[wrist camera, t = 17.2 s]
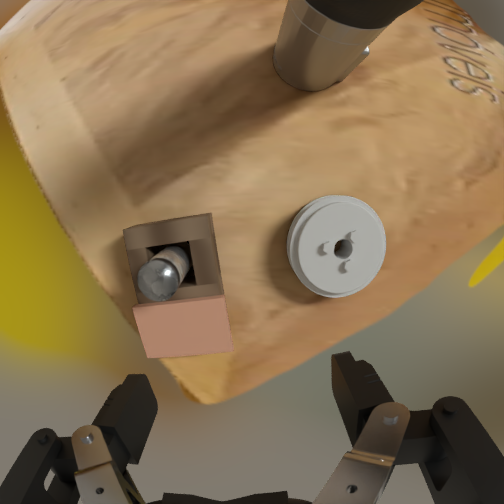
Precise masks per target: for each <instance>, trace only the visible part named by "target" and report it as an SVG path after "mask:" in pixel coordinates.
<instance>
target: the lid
mask: <svg viewBox="0 0 504 504" xmlns="http://www.w3.org/2000/svg"><path fill="white" fill-rule="evenodd" d="M339 240H341V247H340V249H339V250H338V251H336V252H334V247H335V244H336V243H337V242H338V241H339ZM385 252H386V236H385V231H384V228H383V224H382V222H381V220H380V218H379V217H378V215H377V214H376V212H375V211H374V210H373V209H372V208H371V207H370V206H369V205H367V204H366V203H365V202H363V201H361V200H359V199H357V198H354V197H350V196H339V195H330V196H324V197H321V198H318V199H316V200H313V201H312V202H310V203H309V204H307V205H306V206H305V207H304V208H302V209H301V210H300V212H299V213H298V214H297V215H296V217H295V218H294V220H293V222H292V224H291V226H290V229H289V232H288V237H287V255H288V259H289V262H290V265H291V267H292V269H293V270H294V272H295V274H296V275H297V277H298V278H299V279H300V281H301V282H302V283H303V284H304V285H305V286H306V287H307V288H308V289H310V290H311V291H313V292H315V293H317V294H319V295H322V296H326V297H334V298H337V297H345V296H349V295H351V294H354V293H356V292H358V291H360V290H361V289H363V288H364V287H366V286H367V285H368V284H369V283H370V282H371V281H372V280H373V279H374V277H375V276H376V275H377V273H378V271H379V270H380V268H381V265H382V263H383V260H384V256H385Z"/></svg>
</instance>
